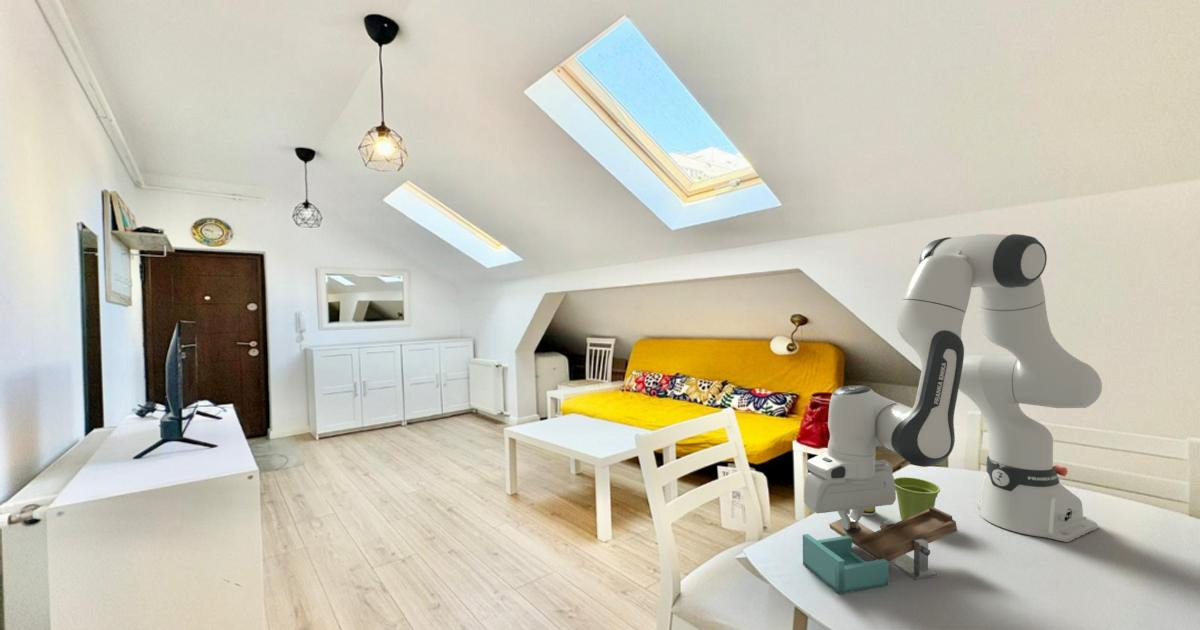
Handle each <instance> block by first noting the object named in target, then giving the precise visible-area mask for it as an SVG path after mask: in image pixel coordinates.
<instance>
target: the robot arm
mask: <svg viewBox="0 0 1200 630" xmlns="http://www.w3.org/2000/svg"><path fill="white" fill-rule="evenodd" d="M1047 257H1048V256H1047V250H1046V248H1045V246H1044V245H1043V244H1042V242H1040V241H1039V240H1038V238H1036V237H1034V236H1030V235H1025V234H1019V233H1018V234H1017V233H1012V234H995V233H992V234H990V233H988V234H987V233H986V234H985V233H984V234H983V233H982V234H975V235H968V236H966V235H965V236H957V237H950V236H949V237H943V238H938V239H935V240H933V241H931V242H929V243H928V244H927V245H926V246H925V247H924V249H923V250H922V252H921V254H920V257H919V260H918V266H917V268H916V269H915V270H914V273H913V275H912V277H911V279H910V281H909V283H908V285H907V287H906V289H905V291H904V295H903V297H902V300H901V303H900V305H899V306H900V307H899V310H898V314H897V323H896V329H897V332H898V333H899V335H900V336H901V338H902V339H903V341H904V342H905V343H907V345H909V346H910V347H911V348H912V349H914V350H913V351H915V352H916V354H917V355H918V357H919V359H920V363H921V371H920V376H919V381H918V387H917V392H916V396H915V402H914V405H913V407H911V406H908V405H906V404H904V403H903V404H902V403H900V402H898V401H894V400H892V399H889V398H887V397H884V396H882V395H880V394H878V393H877V392H875V391H874V390H873V389H872V388H871V387H869V386H865V385H846V386H841V387H838V388H836V389H835V390H834V391H833V392H832V394H831V396H830V400H829V404H828V407H829V408H828V415H827V416H828V417H827V418H828V419H827V427H828V431H829V440H828V444H827V450H824V451H823V452H821V453H820V454H818V455H816V456H814V457H811V458H809V459H808V460H806V469H807V470H808V471H809V472H807V474H806V476H805V480H804V484H803V486H804V487H803V502H804V504H805V506H806V507H807V508H808V509H809V510H810V511H813V512H814V513H815V514H825V513H832V512H833V513H834V512H837V514H838V515H839V517H840V518H841V519H842V527H843V528H845V529H847V530H848V529H855V528H858V524H859V523H860V522H859V521H860V520H861V518H862V516H863V515H862V514H863V513H864V508H868V507H875V508H877V507H883V506H893V504H894V503H895V501H896V499H897V492H896V490H895V482H894V479H895V477H894V474H893V470H894V469H893V466H892V464H891V463H890V462H889V461H887V460H885V459H881V460H880V459H879V460H876V449H877V448H878V447H885V448H887V449H888V450H889V451H892V452H894V453H896V454H897V455H898V456H900V457H901V458H902V459H904V460H905V461H907V462H908V463H910V464H911V465H914V466H916V467H923V468H929V467H933V466H936V465H939V464H940V463H942V462H944V461H945V460H946V459H947V458H948V457H949V456H950V455H951V453H952V452H953V449H954V447H955V439H956V436H955V424H954V423H955V421H954V419H955V411H956V410H955V409H956V405H957V400H958V393H959V391H960V392H961V393H962V394H963V395H965V396H966V397H968V399H970V400H971V401H972V402H973V403H974V405H976V407H977V408H978V409H979V411H980V412H981V415H982V416H983V418H984V421H985V423H986V427H987V437H988V456H987V457H986V461H985V466H986V472H987V474H985V476H983V482H982V489H981V497H980V498H981V499H980V500H977V502H976V506H977V508H978V509H979V515H980V516H981V517H982V518H983V519H984V520H985V521H987V522H989V523H991V524H993V525H995V526H998V527H999V528H1002V529H1005V530H1009V531H1011V532H1015V533H1019V534H1023V535H1027V536H1034V537H1041V538H1047V539H1052V540H1056V541H1061V542H1064V543H1065V542H1067V543H1069V542H1071V541H1074V540H1075V538H1076V539H1078V538H1080V537H1082V536H1084V535H1087V534H1088V532H1089V533H1091V532H1092V530H1093V531H1096V530H1097V529H1098V528H1099V525H1098V523H1097V522H1096V521H1094V520H1093V519H1090V518H1089V517H1087V516H1084V511H1083V510H1084V509H1083V503H1082V501H1081V499H1080V497H1079V496H1077V495H1076V494H1074V493H1073V492H1072V491H1070V490H1069V489H1068V488H1066V487H1065V486H1064V485H1062V484H1061V483H1060V479H1059V476H1061V477H1066V476H1067V474H1068V468H1067V467H1064V466H1059V465H1057V464H1055V465H1054V464H1053V463H1054V461H1053V460H1054V459H1053V458H1054V437H1053V435H1052V433H1051V431H1050V430H1049V429H1048V427H1046V426H1045V425H1044V424H1042V423H1040V422H1039V421H1037V420H1035V419H1032V418H1031V417H1029V416H1027V414H1026V413H1024V411H1023V410H1022V409H1021V407H1020V404H1024V405H1032V406H1037V407H1038V406H1039V407H1043V408H1044V407H1046V408H1052V409H1053V408H1054V409H1086V408H1089V407H1090V406H1092V405H1093V404H1094V403H1096V401H1097V400H1098V399H1099V398H1100V396H1101V394H1102V391H1103V389H1102V388H1103V382H1102V380H1101V377H1100V375H1099V373H1098V372H1097V371H1096V370H1095V369H1094V367H1093V366H1091V365H1089V364H1088V363H1086V362H1085V361H1084V362H1083V361H1082V360H1080V359H1078V358H1077V357H1075V356H1073V354H1071V353H1069V352H1068V351H1067V350H1066V349H1065V348H1064V347H1062V346H1061V344H1060V343H1059V342H1058V341H1057V340H1056V338H1055V337H1054V334H1053V333H1052V330H1051V326H1050V323H1049V318H1048V314H1047V313H1048V312H1047V306H1046V305H1047V303H1046V296H1045V289H1044V285H1043V281H1042V277H1041V276H1042V274H1043V273H1044V271H1045V268H1046V265H1047V259H1048V258H1047ZM972 288H977V289H978V290H977V291H978V292H977V293H978V294H977V295H978V305H979V313H980V319H981V326H982V327H981V328H982V333H983V335H984V336H985V337H986V339H988V341H989V342H991V343H992V344H994V345H996V346H999V347H1001V348H1003V349H1005V350H1007V351H1009V352H1010V353H1011V354H1012V355H1011V354H999V353H998V354H997V353H996V354H995V353H981V354H969V355H965V347H964V343H963V341H962V329H963V324H964V319H965V316H966V313H967V309H968V305H969V301H970V298H971V293H972ZM848 516H849V517H848ZM1090 531H1091V532H1090ZM1086 533H1087V534H1086ZM1081 535H1082V536H1081Z"/></svg>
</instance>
